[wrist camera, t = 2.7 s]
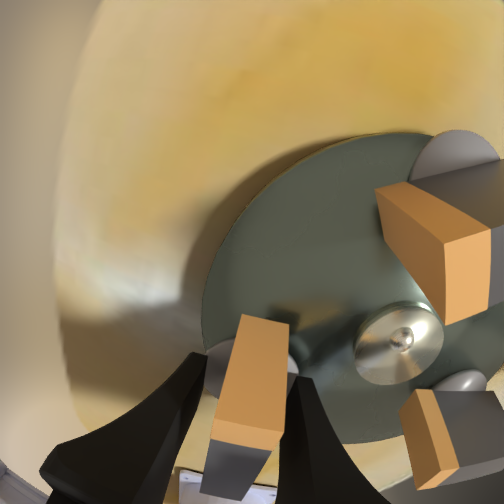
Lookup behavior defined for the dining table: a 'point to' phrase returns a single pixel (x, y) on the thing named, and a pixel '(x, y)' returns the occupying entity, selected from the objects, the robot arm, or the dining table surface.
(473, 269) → the knob
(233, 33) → the dining table surface
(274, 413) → the knob
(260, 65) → the dining table surface
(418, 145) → the base plate
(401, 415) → the grey block
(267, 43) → the dining table surface
